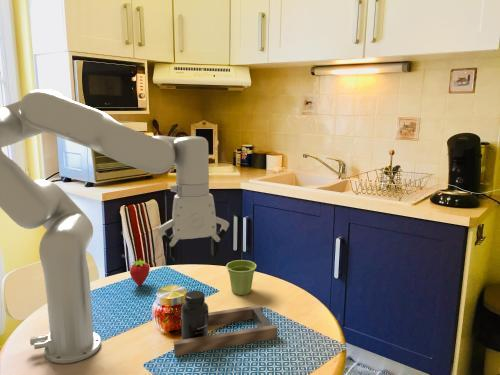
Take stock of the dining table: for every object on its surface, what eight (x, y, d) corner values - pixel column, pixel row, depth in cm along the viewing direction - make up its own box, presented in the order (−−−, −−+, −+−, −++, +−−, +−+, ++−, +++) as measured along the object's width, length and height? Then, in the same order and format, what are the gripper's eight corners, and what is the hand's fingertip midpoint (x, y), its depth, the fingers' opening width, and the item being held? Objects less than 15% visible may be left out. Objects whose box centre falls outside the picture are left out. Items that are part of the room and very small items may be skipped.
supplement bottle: (203, 347, 104) (203, 302, 102) (177, 343, 106) (176, 299, 103) (211, 332, 111) (211, 289, 108) (186, 329, 112) (186, 287, 110)
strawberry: (153, 281, 141) (152, 252, 139) (145, 291, 133) (144, 261, 131) (135, 280, 141) (134, 252, 139) (127, 290, 134) (125, 260, 132)
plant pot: (228, 299, 129) (228, 272, 127) (224, 286, 138) (224, 260, 136) (258, 296, 131) (259, 270, 129) (252, 283, 140) (252, 259, 138)
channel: (175, 355, 101) (174, 344, 100) (168, 328, 112) (167, 318, 111) (277, 338, 109) (277, 327, 108) (260, 314, 120) (261, 304, 119)
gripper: (157, 195, 94) (160, 268, 98) (232, 190, 99) (233, 259, 103) (153, 188, 101) (156, 256, 105) (224, 184, 106) (225, 249, 110)
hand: (194, 257), depth 104 cm, fingers open, 9 cm apart
